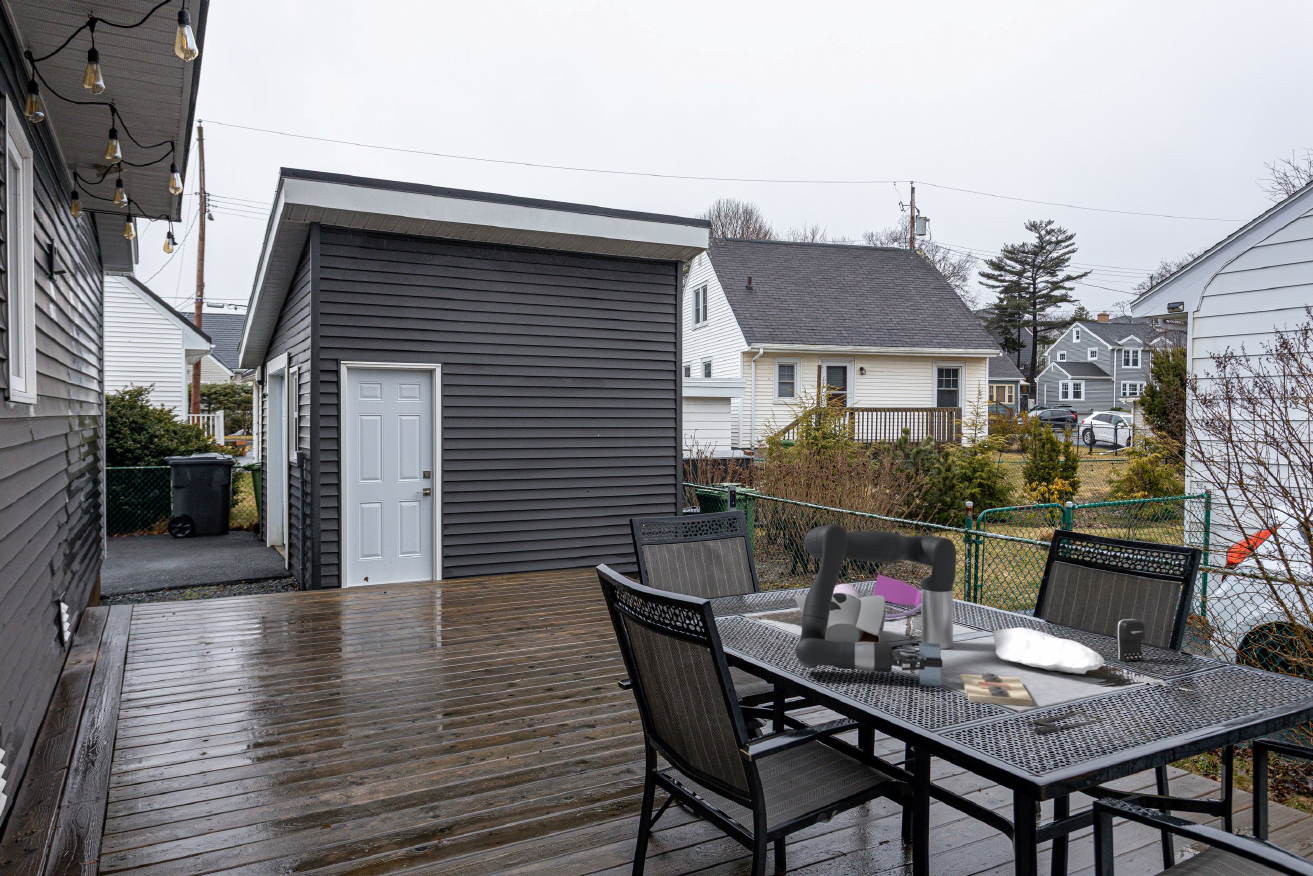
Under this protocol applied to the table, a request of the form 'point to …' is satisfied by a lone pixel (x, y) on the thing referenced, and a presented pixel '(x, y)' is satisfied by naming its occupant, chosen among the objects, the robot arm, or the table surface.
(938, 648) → the link block
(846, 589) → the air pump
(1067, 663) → the crumpled cloth
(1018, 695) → the tan flat wooden board
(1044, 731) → the hacksaw
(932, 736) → the table surface
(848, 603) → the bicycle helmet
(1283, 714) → the table surface
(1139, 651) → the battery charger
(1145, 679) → the pliers
